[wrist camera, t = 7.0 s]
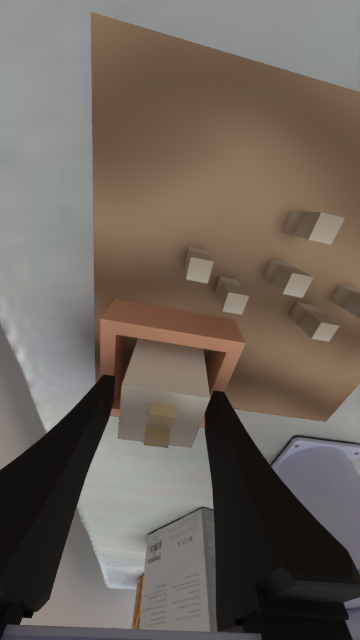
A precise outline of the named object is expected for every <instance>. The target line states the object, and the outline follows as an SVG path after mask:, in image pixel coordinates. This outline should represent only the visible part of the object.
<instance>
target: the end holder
mask: <svg viewBox="0 0 360 640" xmlns="http://www.w3.org/2000/svg"><path fill="white" fill-rule="evenodd" d="M125 336H128V337H134V338H140V339H147V340H153V341H159V342H165V343H171V344H177V345H184V346H190V347H196V348H202V349H208V350H212V351H211V354H210V357H209V360H208V363H207V366H206V372H207V379H208V386H209V393H210V398H211V396H212V393H213V391H214V390H215V391H222V392H225V389H226V387H227V385H228V382H229V380H230V378H231V376H232V373H233V371H234V369H235V366H236V364H237V362H238V360H239V357H240V355H241V353H242V350H243V348H244V346H245V344H246V343H245V341H244V339H243V336H242V334H241V332H240V330H239V328H238V326H237V323H236V321H235V320H232V319H226V318H221V317H215V316H210V315H204V314H198V313H193V312H187V311H182V310H176V309H170V308H165V307H159V306H153V305H148V304H142V303H137V302H131V301H125V300H120V299H114V300H113V302H112V303H111V304H110V306H109V307H108V309H107V310H106V311H105V313H104V314H103V316H102V317H101V318H100V377H101V376H102V375H104V374H105V375H112V376H115V391H114V403H113V406H112V410H111V413H110V416H115V417H119V415H120V401H121V388H122V383H123V380H122V373H123V360H124V347H125ZM209 401H210V400H209ZM199 427H202V428H205V413H204V416H203V419H202V421H201V424H200V426H199Z"/></svg>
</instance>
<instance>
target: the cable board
mask: <svg viewBox="0 0 360 640" xmlns="http://www.w3.org/2000/svg"><path fill="white" fill-rule="evenodd" d="M91 61H92V139H93V217H94V294H95V372H96V383H97V381H98V380H99V379H100V318H101V317H102V316H103V314H104V313H105V311H106V310H107V309H108V307H109V306H110V304H111V303H112V302H113V300H114V299H120V300H125V301H131V302H137V303H142V304H148V305H153V306H159V307H165V308H170V309H176V310H182V311H187V312H193V313H198V314H204V315H210V316H215V317H221V318H226V319H232V320H235V321H236V323H237V326H238V328H239V330H240V332H241V334H242V336H243V339H244V341H245V343H246V344H245V346H244V348H243V350H242V353H241V355H240V357H239V360H238V362H237V364H236V366H235V369H234V371H233V373H232V376H231V378H230V380H229V382H228V385H227V387H226V389H225V392H224V393H225V394H226V396H227V398H228V400H229V402H230V403H231V405H232V407H233V409H238V410H245V411H252V412H259V413H267V414H274V415H281V416H288V417H296V418H303V419H310V420H318V421H325V422H326V421H327V420H328V419H329V418H330V416H331V415H332V414H333V413H334V412H335V411H336V410H337V408H338V407H339V406H340V405H341V404H342V403H343V402H344V401H345V399H346V398H347V397H348V396H349V395H350V394H351V393H352V391H353V390H354V389H355V388H356V387H357V386H358V385H359V384H360V92H357V91H354V90H350V89H347V88H344V87H340V86H337V85H334V84H330V83H327V82H324V81H320V80H317V79H314V78H310V77H307V76H304V75H300V74H297V73H293V72H290V71H287V70H283V69H280V68H277V67H273V66H270V65H267V64H263V63H260V62H257V61H253V60H250V59H247V58H243V57H240V56H237V55H233V54H230V53H226V52H223V51H220V50H216V49H213V48H210V47H206V46H203V45H200V44H196V43H193V42H190V41H186V40H183V39H180V38H176V37H173V36H169V35H166V34H163V33H159V32H156V31H153V30H149V29H146V28H143V27H139V26H136V25H133V24H129V23H126V22H123V21H119V20H116V19H112V18H109V17H106V16H102V15H99V14H96V13H92V12H91ZM137 340H138V338H134V337H128V336H125V347H124V360H123V373H122V380H124V377H125V374H126V372H127V369H128V366H129V363H130V360H131V357H132V354H133V351H134V349H135V346H136V343H137ZM203 350H204V358H205V365H206V366H207V363H208V360H209V357H210V354H211V351H212V350H208V349H203Z"/></svg>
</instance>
